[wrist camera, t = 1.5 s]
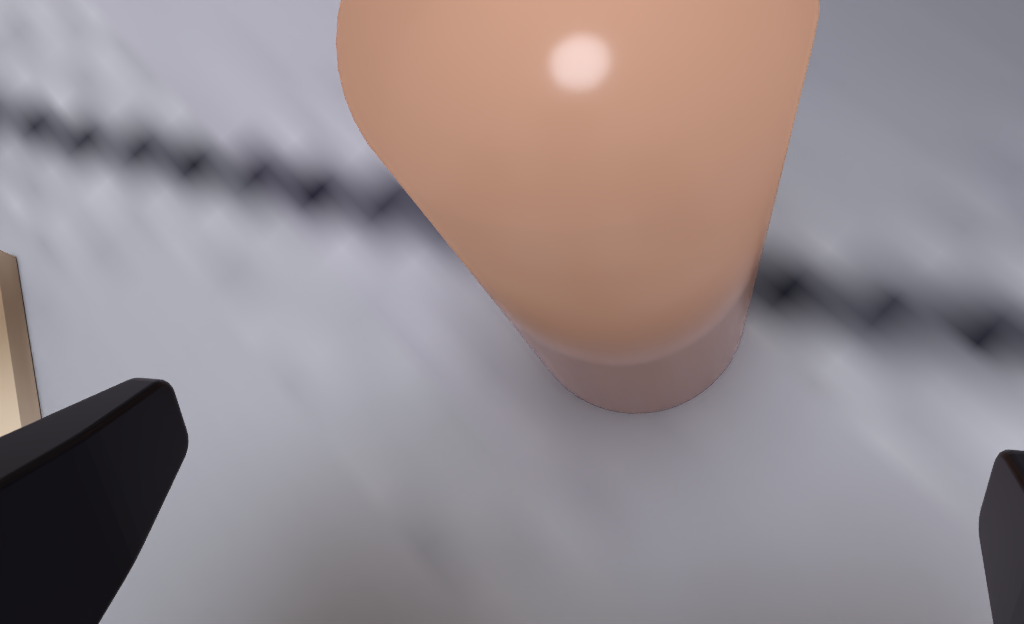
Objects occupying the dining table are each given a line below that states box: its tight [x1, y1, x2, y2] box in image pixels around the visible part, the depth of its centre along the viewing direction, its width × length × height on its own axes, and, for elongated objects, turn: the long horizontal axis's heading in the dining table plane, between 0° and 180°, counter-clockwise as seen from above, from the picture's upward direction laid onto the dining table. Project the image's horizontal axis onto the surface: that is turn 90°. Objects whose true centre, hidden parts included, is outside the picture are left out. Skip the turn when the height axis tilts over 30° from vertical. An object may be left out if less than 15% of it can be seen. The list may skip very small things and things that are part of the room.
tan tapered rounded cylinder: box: [336, 0, 819, 413], centre depth 15 cm, size 5×5×12 cm
